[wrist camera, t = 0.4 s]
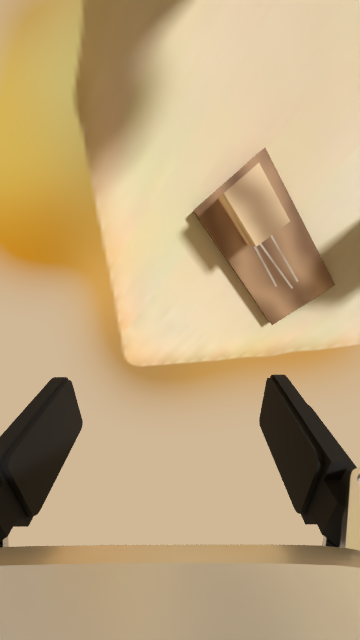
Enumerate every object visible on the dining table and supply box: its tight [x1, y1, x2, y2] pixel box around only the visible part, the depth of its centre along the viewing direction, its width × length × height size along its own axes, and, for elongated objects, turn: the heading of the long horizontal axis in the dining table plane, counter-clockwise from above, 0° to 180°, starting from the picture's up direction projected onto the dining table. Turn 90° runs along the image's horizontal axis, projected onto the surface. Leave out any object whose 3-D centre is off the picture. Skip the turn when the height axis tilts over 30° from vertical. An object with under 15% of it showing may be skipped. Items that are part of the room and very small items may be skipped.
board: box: [194, 148, 335, 325], centre depth 33 cm, size 12×24×2 cm, turn 38°
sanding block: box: [217, 163, 290, 247], centre depth 28 cm, size 5×8×5 cm, turn 39°
